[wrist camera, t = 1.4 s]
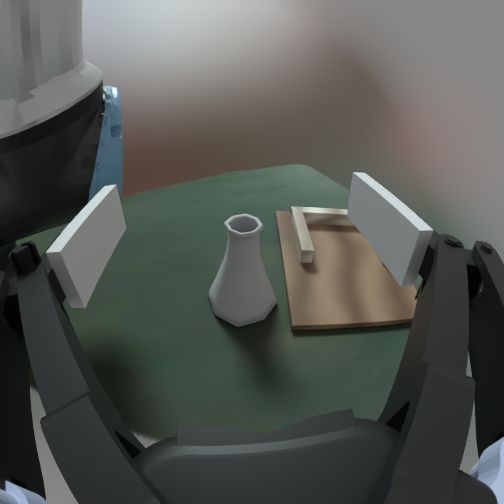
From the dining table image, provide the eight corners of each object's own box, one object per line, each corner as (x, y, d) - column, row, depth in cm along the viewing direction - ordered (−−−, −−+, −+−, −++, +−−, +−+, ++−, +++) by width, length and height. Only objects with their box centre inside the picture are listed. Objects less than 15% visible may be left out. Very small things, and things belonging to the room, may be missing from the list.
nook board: (291, 330, 27) (295, 313, 26) (275, 215, 44) (276, 199, 43) (426, 320, 28) (436, 305, 26) (371, 219, 45) (375, 206, 43)
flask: (288, 305, 30) (302, 228, 24) (235, 339, 26) (234, 261, 20) (247, 269, 34) (250, 196, 28) (196, 295, 31) (186, 219, 24)
